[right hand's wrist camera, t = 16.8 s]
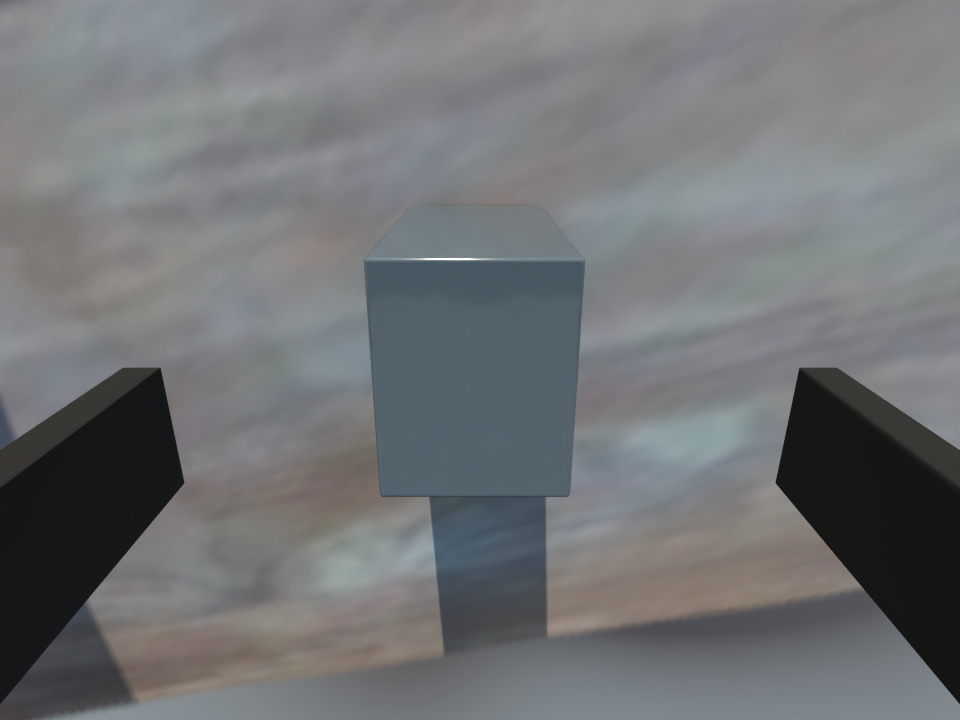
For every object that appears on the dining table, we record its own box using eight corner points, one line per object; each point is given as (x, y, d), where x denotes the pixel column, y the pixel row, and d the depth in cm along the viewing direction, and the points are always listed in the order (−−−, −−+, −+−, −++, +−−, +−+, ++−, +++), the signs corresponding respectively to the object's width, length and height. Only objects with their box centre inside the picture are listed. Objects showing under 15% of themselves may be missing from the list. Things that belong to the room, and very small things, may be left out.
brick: (410, 205, 23) (362, 257, 13) (542, 205, 23) (586, 258, 13) (416, 361, 25) (379, 498, 16) (536, 361, 25) (570, 498, 16)
